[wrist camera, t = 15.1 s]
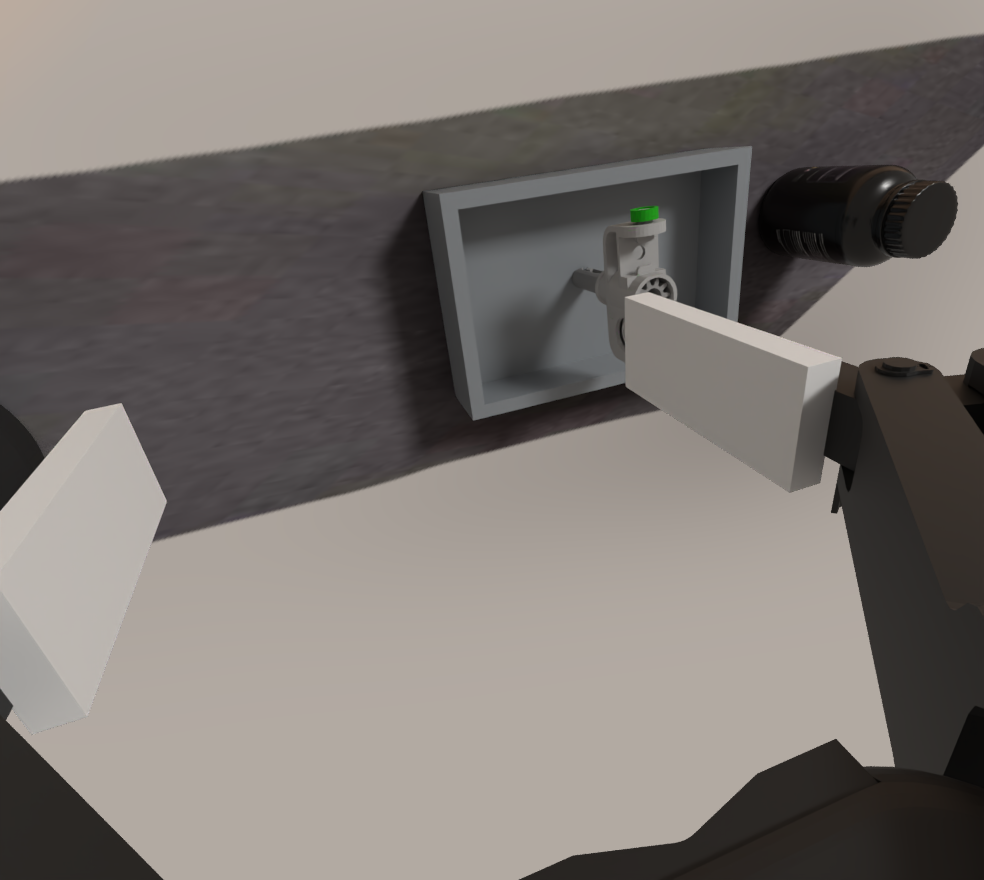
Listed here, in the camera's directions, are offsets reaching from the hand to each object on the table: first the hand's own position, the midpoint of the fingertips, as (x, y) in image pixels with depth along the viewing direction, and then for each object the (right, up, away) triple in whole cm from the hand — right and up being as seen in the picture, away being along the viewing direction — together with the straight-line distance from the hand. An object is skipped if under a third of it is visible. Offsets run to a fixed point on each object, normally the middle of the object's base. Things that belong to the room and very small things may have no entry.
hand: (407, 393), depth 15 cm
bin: (+9, +11, +29) cm, 32 cm away
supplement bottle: (+27, +18, +32) cm, 46 cm away
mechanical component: (+9, +11, +28) cm, 31 cm away
